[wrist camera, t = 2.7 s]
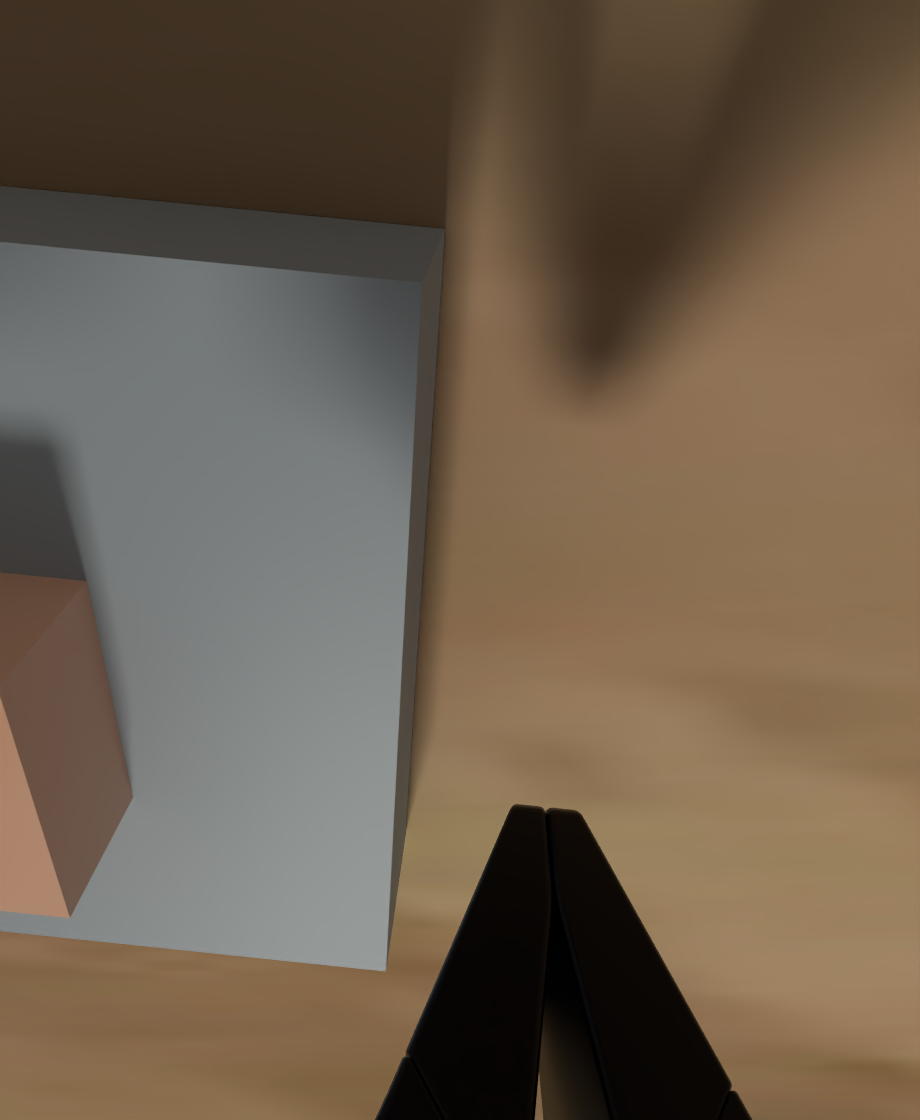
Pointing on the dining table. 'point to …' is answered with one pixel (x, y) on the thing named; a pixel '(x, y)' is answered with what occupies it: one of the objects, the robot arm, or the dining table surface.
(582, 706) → the dining table surface
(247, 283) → the grey base plate
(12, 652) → the tile
